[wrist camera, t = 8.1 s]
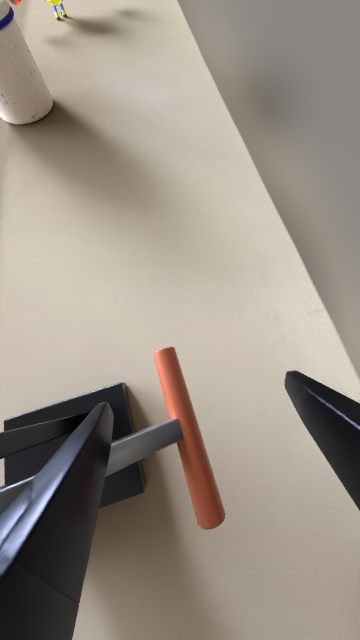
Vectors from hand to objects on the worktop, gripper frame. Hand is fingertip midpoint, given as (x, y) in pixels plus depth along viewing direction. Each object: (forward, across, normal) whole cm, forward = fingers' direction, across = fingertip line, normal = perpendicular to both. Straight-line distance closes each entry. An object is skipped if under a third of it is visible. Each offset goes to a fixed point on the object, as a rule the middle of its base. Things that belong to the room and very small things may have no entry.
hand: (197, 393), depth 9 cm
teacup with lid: (+40, +20, -27) cm, 52 cm away
